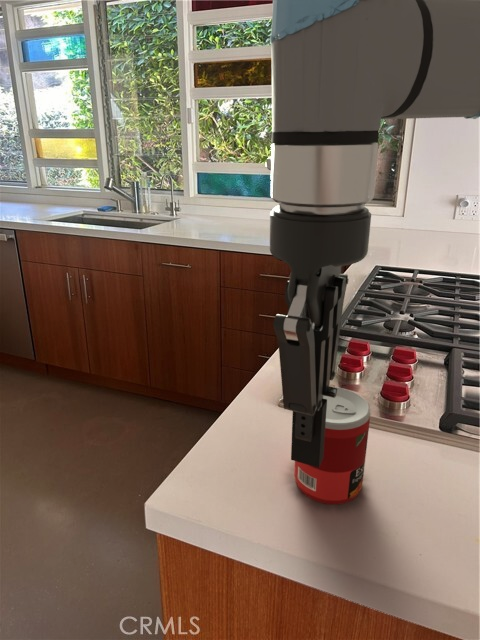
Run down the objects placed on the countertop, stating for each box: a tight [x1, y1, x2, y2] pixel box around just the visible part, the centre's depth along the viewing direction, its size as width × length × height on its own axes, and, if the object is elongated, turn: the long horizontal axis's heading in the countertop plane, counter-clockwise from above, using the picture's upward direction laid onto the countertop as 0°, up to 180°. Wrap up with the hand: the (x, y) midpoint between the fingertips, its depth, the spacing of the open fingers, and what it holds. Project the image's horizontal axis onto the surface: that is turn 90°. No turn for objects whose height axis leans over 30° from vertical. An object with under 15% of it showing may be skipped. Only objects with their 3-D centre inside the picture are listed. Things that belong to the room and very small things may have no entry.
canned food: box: [293, 386, 371, 505], centre depth 53 cm, size 8×8×11 cm
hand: (307, 458), depth 44 cm, fingers closed
